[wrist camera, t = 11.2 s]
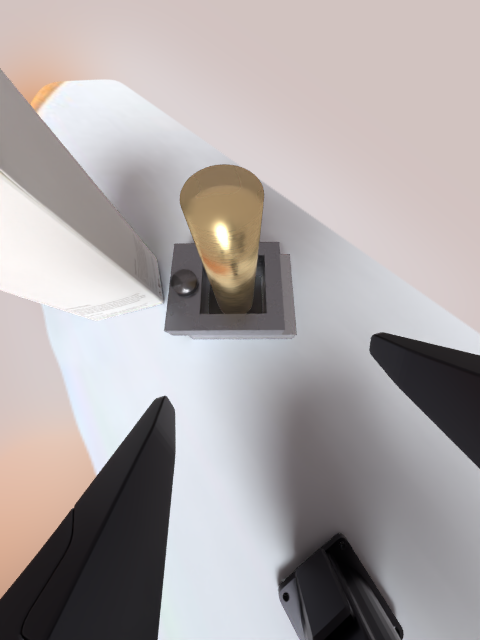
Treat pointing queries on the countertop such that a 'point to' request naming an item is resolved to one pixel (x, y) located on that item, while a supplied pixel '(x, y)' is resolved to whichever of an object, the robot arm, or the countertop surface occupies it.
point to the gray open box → (195, 321)
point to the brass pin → (226, 230)
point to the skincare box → (63, 226)
